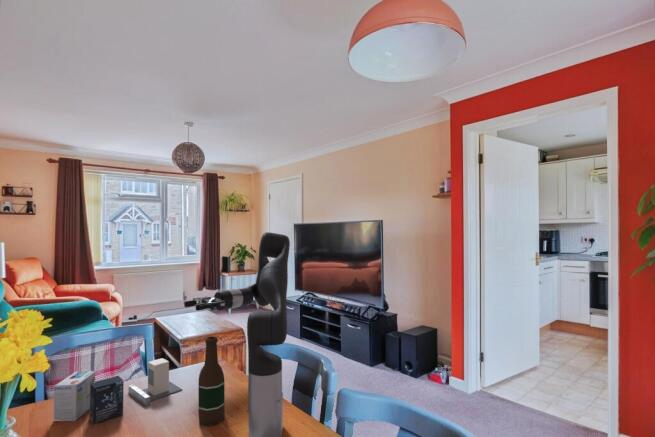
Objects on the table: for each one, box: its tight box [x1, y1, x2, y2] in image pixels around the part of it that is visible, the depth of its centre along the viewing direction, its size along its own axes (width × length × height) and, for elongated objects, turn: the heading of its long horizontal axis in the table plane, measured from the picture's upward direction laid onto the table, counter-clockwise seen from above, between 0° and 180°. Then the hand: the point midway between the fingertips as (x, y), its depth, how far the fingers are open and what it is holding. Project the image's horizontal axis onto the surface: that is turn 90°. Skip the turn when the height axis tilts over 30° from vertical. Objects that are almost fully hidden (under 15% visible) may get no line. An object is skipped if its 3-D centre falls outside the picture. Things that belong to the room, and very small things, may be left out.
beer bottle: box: [197, 336, 226, 427], centre depth 110 cm, size 8×8×24 cm
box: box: [89, 375, 125, 425], centre depth 112 cm, size 8×6×11 cm
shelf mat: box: [141, 381, 183, 402], centre depth 128 cm, size 12×10×1 cm
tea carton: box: [147, 357, 170, 395], centre depth 128 cm, size 5×5×10 cm
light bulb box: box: [53, 370, 96, 422], centre depth 114 cm, size 11×7×11 cm, turn 5°
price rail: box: [128, 384, 151, 407], centre depth 124 cm, size 2×14×2 cm, turn 48°
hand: (190, 306), depth 136 cm, fingers open, 8 cm apart
